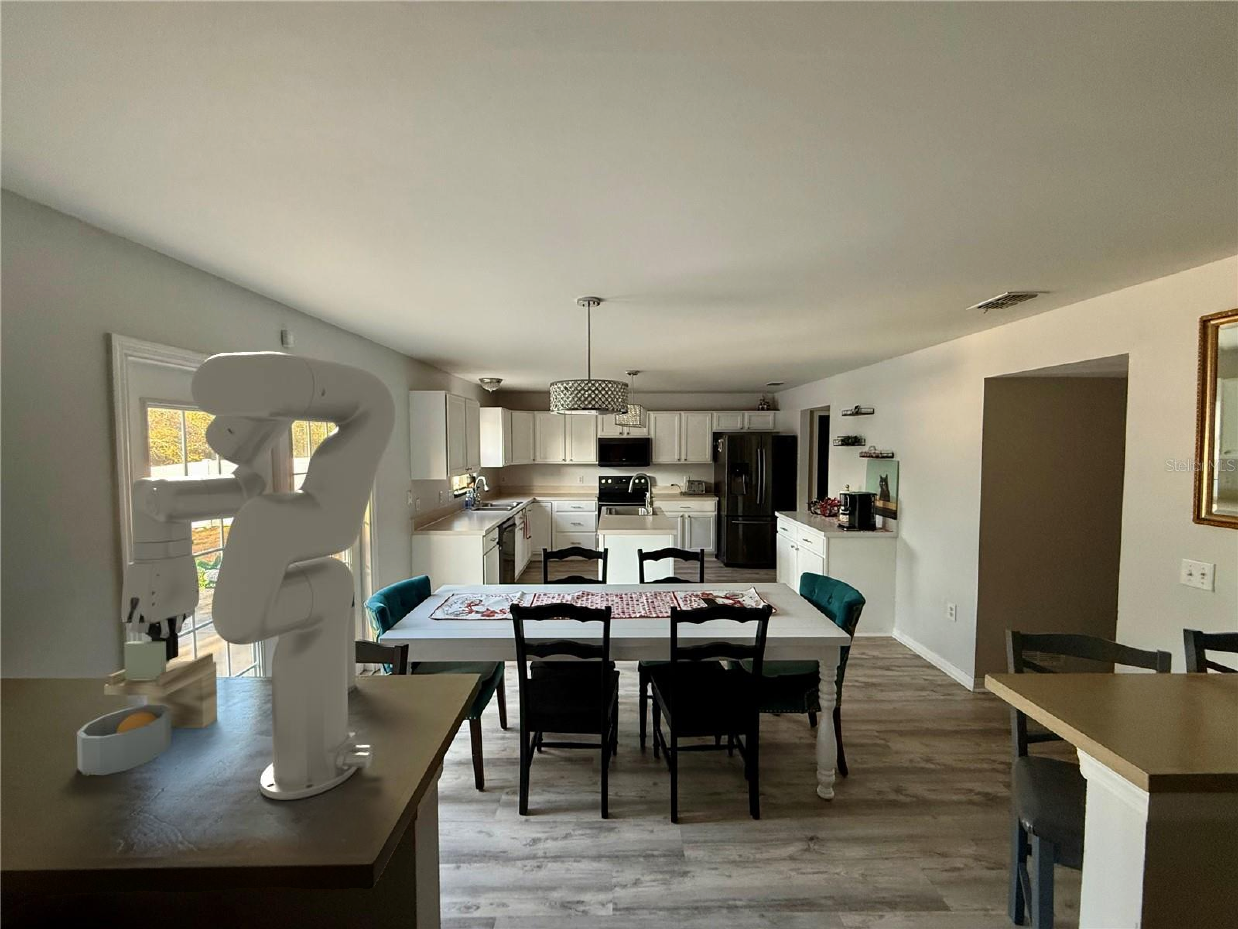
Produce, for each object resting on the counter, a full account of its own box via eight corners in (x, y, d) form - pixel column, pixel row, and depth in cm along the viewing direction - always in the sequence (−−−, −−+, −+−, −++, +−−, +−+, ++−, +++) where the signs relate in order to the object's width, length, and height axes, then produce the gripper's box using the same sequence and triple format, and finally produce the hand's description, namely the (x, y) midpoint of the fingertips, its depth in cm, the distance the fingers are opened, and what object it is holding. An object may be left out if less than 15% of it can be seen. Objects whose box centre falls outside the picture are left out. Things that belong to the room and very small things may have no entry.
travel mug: (363, 683, 107) (362, 586, 107) (343, 698, 100) (341, 594, 100) (334, 682, 108) (333, 585, 107) (312, 697, 101) (311, 594, 101)
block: (170, 675, 86) (170, 639, 86) (160, 679, 84) (160, 643, 84) (135, 674, 86) (135, 639, 86) (125, 679, 84) (124, 643, 84)
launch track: (217, 719, 93) (216, 653, 92) (165, 750, 83) (164, 676, 82) (163, 718, 93) (161, 652, 93) (105, 749, 83) (104, 676, 83)
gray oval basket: (186, 738, 86) (185, 705, 86) (125, 776, 76) (124, 738, 76) (127, 737, 87) (126, 704, 87) (58, 775, 76) (57, 737, 76)
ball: (164, 705, 85) (135, 725, 80) (169, 733, 86) (140, 754, 81) (135, 705, 85) (104, 724, 80) (139, 733, 86) (109, 754, 81)
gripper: (181, 543, 95) (183, 643, 96) (95, 559, 80) (97, 677, 81) (220, 543, 95) (222, 643, 95) (141, 559, 80) (143, 678, 80)
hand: (165, 658), depth 88 cm, fingers closed
